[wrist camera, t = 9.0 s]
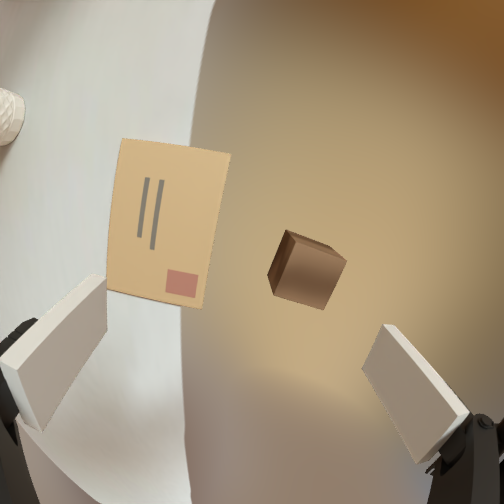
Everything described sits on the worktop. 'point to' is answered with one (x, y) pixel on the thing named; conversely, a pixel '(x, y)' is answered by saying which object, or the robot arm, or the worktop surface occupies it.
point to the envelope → (164, 220)
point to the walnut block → (305, 270)
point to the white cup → (10, 115)
